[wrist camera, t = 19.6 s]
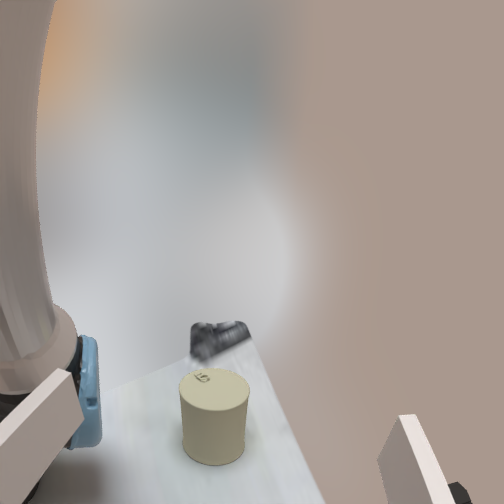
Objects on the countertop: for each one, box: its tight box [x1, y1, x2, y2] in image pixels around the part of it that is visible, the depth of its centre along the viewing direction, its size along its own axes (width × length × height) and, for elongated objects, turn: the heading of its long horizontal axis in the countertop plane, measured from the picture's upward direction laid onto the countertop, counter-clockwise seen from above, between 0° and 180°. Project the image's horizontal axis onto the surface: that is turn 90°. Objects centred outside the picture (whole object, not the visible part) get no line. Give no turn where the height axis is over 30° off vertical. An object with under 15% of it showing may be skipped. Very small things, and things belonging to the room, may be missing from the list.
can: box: [179, 368, 250, 465], centre depth 38 cm, size 9×9×12 cm
